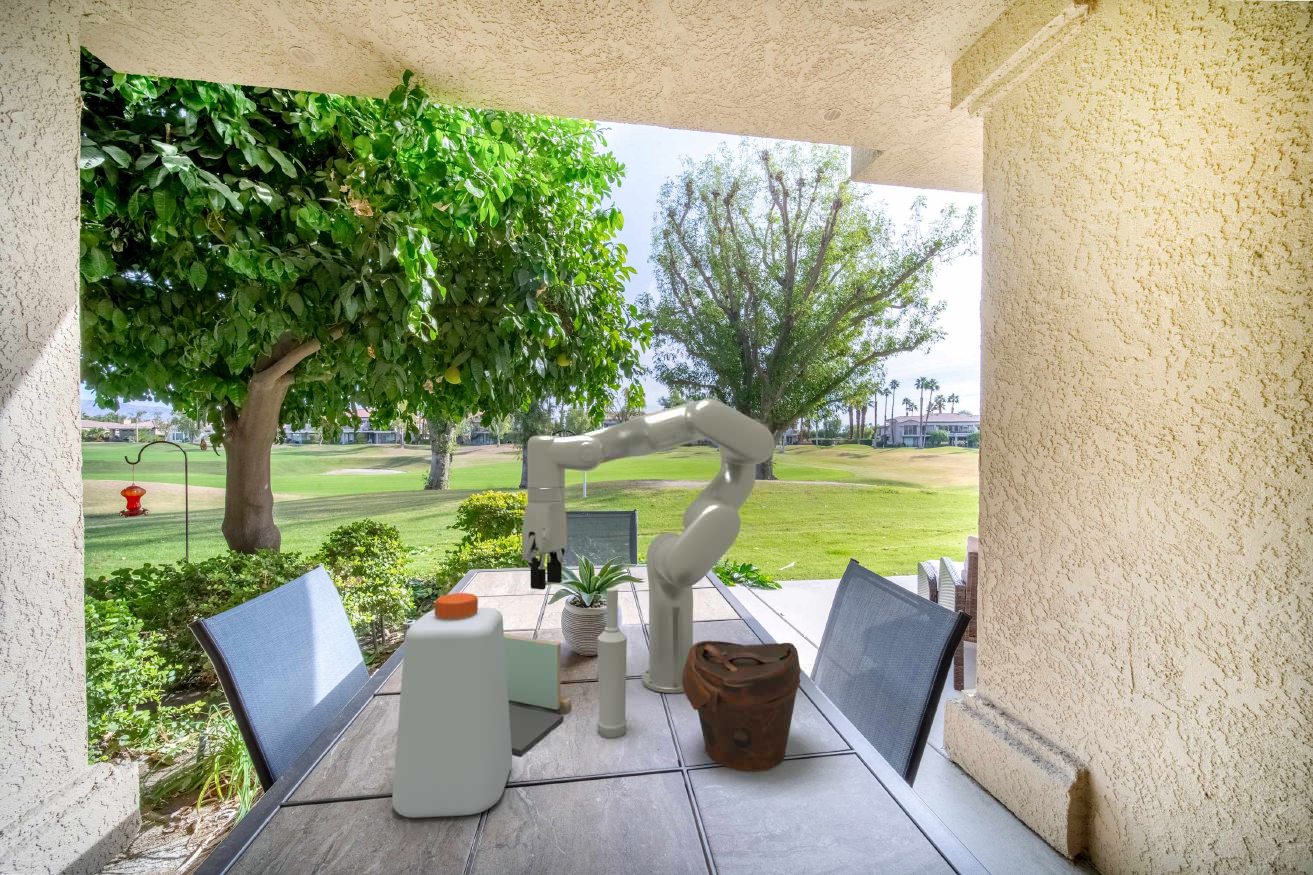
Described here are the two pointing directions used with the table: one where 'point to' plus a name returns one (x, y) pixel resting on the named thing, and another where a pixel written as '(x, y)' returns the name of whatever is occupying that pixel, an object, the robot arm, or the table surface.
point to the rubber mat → (530, 727)
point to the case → (743, 700)
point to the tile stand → (563, 709)
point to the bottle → (612, 672)
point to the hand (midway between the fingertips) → (546, 584)
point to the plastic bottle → (453, 712)
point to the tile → (533, 671)
